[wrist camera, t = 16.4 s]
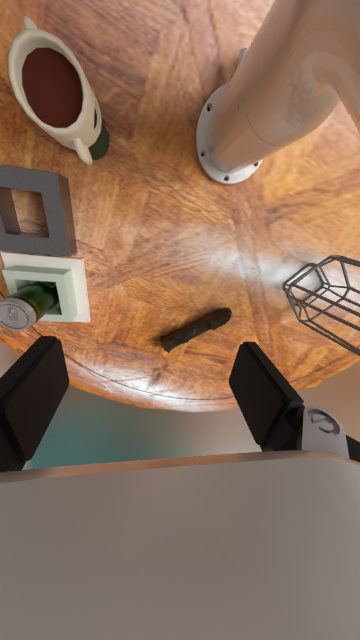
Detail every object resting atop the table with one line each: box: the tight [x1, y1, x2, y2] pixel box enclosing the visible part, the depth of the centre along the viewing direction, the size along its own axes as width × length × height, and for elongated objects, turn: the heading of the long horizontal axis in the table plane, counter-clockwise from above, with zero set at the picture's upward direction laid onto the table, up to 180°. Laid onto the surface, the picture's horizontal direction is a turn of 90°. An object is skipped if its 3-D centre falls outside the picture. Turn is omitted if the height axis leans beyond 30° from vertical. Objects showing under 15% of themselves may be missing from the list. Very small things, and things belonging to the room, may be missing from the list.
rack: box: [0, 251, 90, 322], centre depth 38 cm, size 14×14×5 cm
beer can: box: [0, 281, 60, 331], centre depth 34 cm, size 5×5×12 cm
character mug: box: [8, 16, 109, 165], centre depth 24 cm, size 11×7×13 cm, turn 16°
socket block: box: [0, 165, 77, 257], centre depth 32 cm, size 12×12×4 cm
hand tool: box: [160, 308, 232, 353], centre depth 47 cm, size 19×4×5 cm, turn 115°
